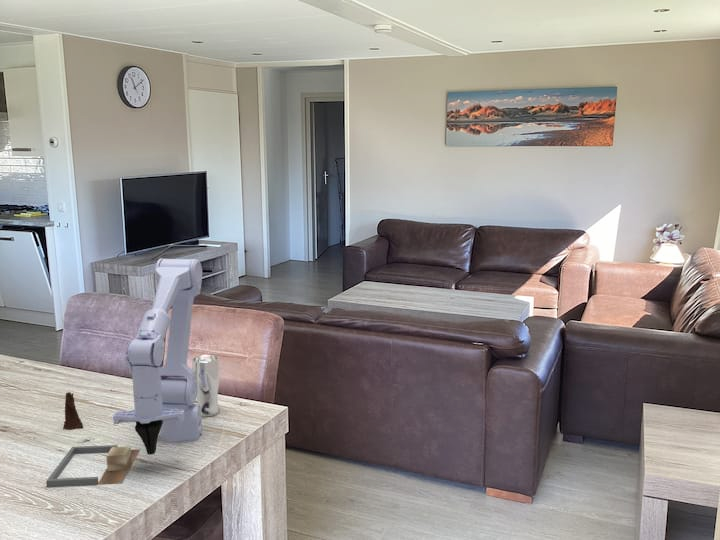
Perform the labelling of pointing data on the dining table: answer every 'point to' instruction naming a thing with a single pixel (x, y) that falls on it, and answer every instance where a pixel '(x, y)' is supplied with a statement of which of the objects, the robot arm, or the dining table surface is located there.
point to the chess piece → (71, 414)
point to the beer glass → (207, 383)
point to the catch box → (53, 480)
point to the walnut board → (117, 472)
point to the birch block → (119, 458)
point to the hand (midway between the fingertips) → (151, 452)
